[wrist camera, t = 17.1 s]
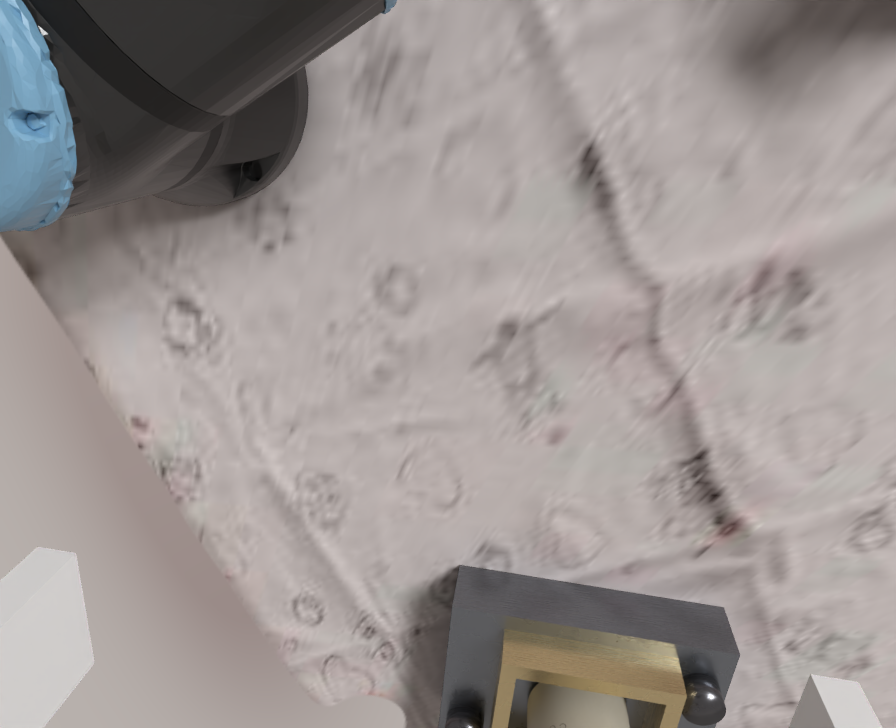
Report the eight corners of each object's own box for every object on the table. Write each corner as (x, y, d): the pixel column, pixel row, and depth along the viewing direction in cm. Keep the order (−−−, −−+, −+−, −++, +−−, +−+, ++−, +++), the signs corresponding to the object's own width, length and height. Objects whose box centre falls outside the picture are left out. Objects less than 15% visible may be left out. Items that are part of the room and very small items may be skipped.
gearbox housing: (444, 699, 63) (429, 785, 55) (459, 564, 57) (445, 640, 49) (680, 742, 61) (700, 838, 53) (723, 607, 55) (753, 693, 47)
